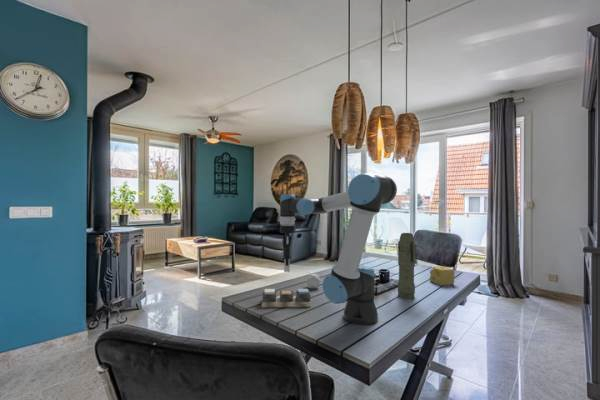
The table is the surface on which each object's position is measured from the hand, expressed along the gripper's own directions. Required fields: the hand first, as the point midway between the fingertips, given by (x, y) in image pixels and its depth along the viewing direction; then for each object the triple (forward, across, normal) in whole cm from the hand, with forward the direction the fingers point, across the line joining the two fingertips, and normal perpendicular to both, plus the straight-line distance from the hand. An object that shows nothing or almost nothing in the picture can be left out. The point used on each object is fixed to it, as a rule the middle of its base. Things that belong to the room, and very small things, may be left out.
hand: (286, 271), depth 145 cm
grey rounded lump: (+16, +26, -16) cm, 35 cm away
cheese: (+17, +35, -102) cm, 109 cm away
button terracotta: (+14, 0, 0) cm, 14 cm away
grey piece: (+16, 0, 0) cm, 16 cm away
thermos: (+17, +9, -66) cm, 69 cm away
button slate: (+13, 0, -8) cm, 15 cm away
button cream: (+13, 0, +9) cm, 15 cm away
